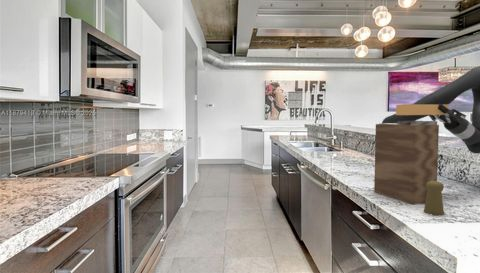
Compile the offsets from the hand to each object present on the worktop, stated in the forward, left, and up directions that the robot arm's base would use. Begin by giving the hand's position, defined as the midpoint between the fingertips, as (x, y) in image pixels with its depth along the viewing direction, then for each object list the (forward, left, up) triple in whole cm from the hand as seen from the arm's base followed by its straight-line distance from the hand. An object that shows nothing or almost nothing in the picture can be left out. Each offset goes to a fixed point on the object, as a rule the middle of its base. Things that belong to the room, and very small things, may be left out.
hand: (433, 106), depth 124 cm
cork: (+8, -20, -37) cm, 43 cm away
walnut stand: (-8, -6, -37) cm, 39 cm away
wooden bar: (-2, -5, -3) cm, 7 cm away
